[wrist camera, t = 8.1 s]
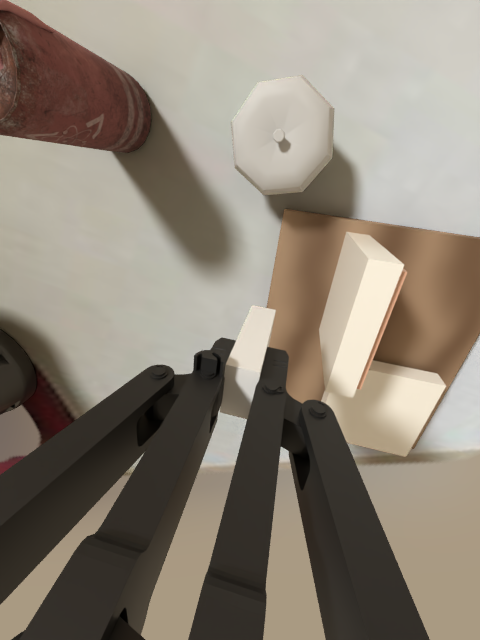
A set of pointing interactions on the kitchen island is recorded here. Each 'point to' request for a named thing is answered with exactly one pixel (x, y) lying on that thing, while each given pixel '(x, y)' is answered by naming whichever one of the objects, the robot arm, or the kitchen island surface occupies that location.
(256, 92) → the apple
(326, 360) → the tile cream
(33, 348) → the kitchen island surface
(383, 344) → the board
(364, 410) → the square block
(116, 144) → the can
